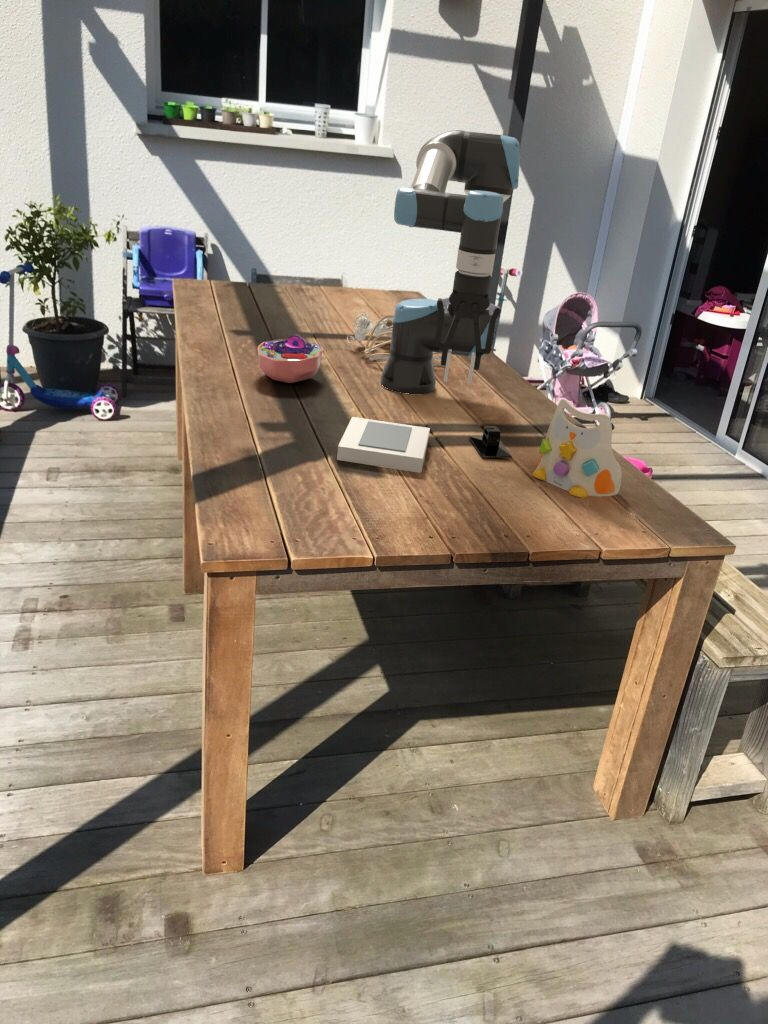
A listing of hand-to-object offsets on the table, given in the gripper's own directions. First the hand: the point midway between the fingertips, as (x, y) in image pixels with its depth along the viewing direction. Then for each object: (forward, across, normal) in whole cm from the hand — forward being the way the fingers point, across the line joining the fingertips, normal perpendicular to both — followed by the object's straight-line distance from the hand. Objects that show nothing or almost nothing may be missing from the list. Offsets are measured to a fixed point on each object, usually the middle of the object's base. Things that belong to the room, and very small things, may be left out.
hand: (457, 381), depth 180 cm
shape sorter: (+17, +26, -8) cm, 33 cm away
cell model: (+17, -44, +36) cm, 59 cm away
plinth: (+17, -14, -5) cm, 22 cm away
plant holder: (+18, -18, +73) cm, 77 cm away
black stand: (+18, +9, +4) cm, 21 cm away
